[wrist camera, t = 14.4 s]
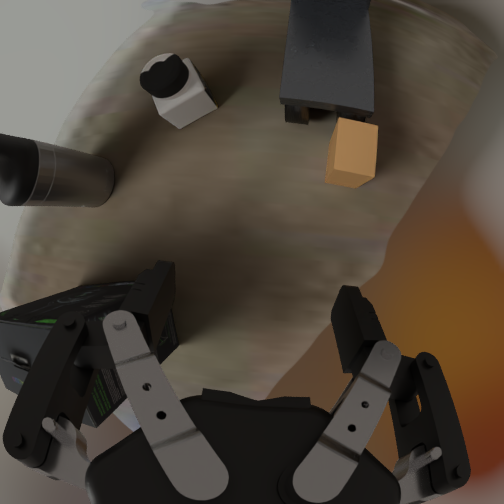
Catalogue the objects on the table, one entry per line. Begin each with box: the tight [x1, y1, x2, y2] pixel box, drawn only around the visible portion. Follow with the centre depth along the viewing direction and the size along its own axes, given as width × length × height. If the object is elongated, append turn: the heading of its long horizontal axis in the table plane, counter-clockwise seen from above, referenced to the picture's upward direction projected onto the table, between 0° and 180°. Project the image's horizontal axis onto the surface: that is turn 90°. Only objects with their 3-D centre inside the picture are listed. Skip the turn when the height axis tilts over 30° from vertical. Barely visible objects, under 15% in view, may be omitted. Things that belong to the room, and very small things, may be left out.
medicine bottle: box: [140, 53, 218, 129], centre depth 32 cm, size 7×7×12 cm
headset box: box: [0, 281, 179, 428], centre depth 32 cm, size 22×12×26 cm, turn 98°
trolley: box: [279, 0, 374, 125], centre depth 21 cm, size 12×22×26 cm, turn 172°
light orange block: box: [325, 117, 378, 188], centre depth 31 cm, size 4×6×10 cm
